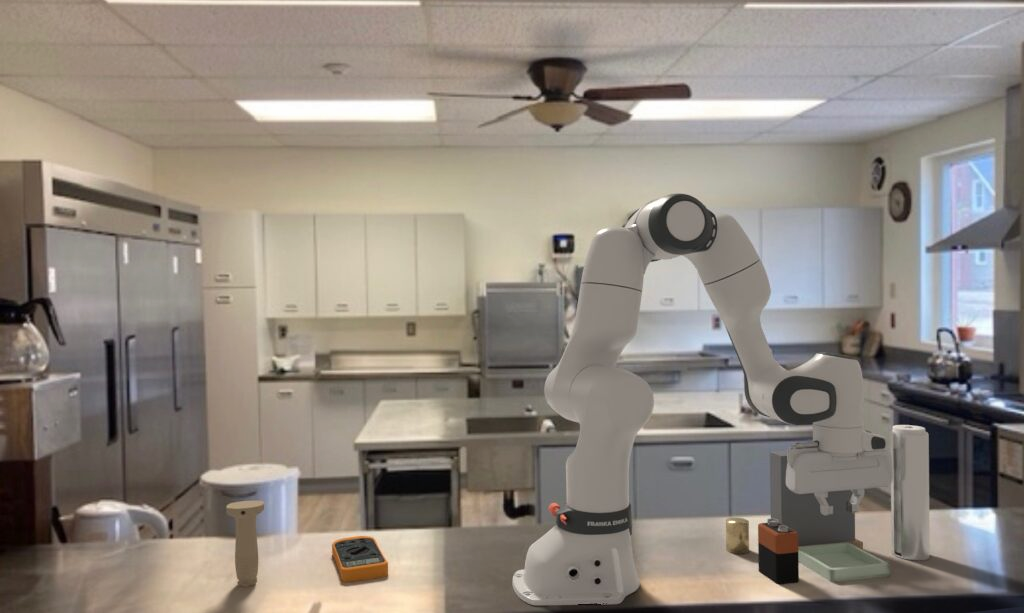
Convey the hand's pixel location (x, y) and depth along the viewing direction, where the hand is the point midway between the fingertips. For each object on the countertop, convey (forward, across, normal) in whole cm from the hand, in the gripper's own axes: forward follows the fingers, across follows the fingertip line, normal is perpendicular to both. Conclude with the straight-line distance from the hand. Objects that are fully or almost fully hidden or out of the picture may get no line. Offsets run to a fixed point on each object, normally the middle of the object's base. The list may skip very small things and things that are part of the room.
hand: (839, 513), depth 136 cm
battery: (+10, -14, -2) cm, 17 cm away
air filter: (+10, +17, +2) cm, 20 cm away
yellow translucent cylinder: (+10, -14, +12) cm, 21 cm away
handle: (+10, -108, +17) cm, 110 cm away
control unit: (+10, +1, +10) cm, 14 cm away
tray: (+10, 0, 0) cm, 10 cm away
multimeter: (+10, -88, +22) cm, 92 cm away
